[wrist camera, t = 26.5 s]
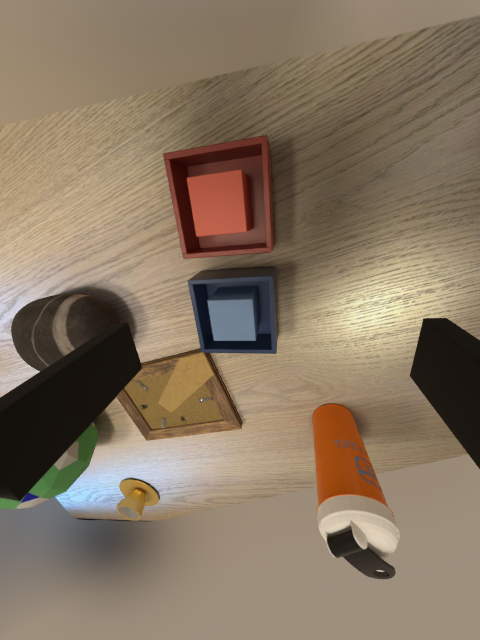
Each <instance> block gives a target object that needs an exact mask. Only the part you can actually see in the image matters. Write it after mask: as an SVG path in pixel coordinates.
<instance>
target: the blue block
mask: <svg viewBox="0 0 480 640" xmlns="http://www.w3.org/2000/svg"><path fill="white" fill-rule="evenodd" d="M207 302H208V308H209V315H210V321H211V327H212V333H213V339H214V341H256V338H257V334H258V330H259V325H260V310H259V296H258V286H240V287H219V288H218V289H217V290H216V292H215V293H214V294H213V295H212V296H211V297H210V298H209V299H208V301H207Z"/></svg>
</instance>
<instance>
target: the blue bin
mask: <svg viewBox="0 0 480 640" xmlns="http://www.w3.org/2000/svg"><path fill="white" fill-rule="evenodd" d="M188 284H189V290H190V295H191V300H192V305H193V311H194V316H195V321H196V326H197V331H198V336H199V342H200V347H201V351H202V353H271V354H276V351H277V337H278V331H277V305H276V279H275V266H272V267H256V268H240V269H224V270H208V271H201V272H199V273H198V274H196V275H195V276H194V277H192V278H191V279H189V280H188ZM240 286H258V296H259V310H260V325H259V330H258V334H257V338H256V341H214V339H213V333H212V327H211V321H210V315H209V308H208V302H207V301H208V299H209V298H210V297H211V296H212V295H213V294H214V293H215V292H216V290H217V289H218V288H219V287H240Z"/></svg>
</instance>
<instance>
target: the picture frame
mask: <svg viewBox="0 0 480 640" xmlns="http://www.w3.org/2000/svg"><path fill="white" fill-rule="evenodd" d="M141 365H142V369H141V370H140V371H139V372H138V374H137V375H136V376H135V377H134V378H133V379H132V380H131V381H130V382H129V383H128V384H127V386H126V387H125V388H124V389H123V390H122V391H121V392H120V393H119V394H118V395H117V396H116V397H117V399H118V400H119V402H120V403H121V404H122V406H123V407H124V409H125V410H126V412H127V413H128V414H129V416H130V417H131V419H132V420H133V422H134V423H135V425H136V426H137V427H138V429H139V430H140V432H141V433H142V435H143V436H144V437H145V439H146V440H155V439H163V438H171V437H179V436H188V435H196V434H204V433H212V432H220V431H229V430H237V429H241V428H242V426H241V425H242V421H241V419H240V417H239V415H238V413H237V411H236V409H235V407H234V405H233V403H232V401H231V398H230V396H229V394H228V392H227V390H226V388H225V386H224V384H223V382H222V380H221V378H220V376H219V374H218V372H217V369H216V367H215V365H214V363H213V361H212V359H211V357H210V355H209V353H202V351H201V349H199V350H195V351H190V352H186V353H182V354H178V355H174V356H170V357H166V358H162V359H158V360H154V361H150V362H146V363H142V364H141Z"/></svg>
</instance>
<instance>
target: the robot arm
mask: <svg viewBox="0 0 480 640" xmlns="http://www.w3.org/2000/svg"><path fill="white" fill-rule="evenodd" d="M141 369H142V365H141V362H140V359H139V356H138V353H137V350H136V347H135V344H134V341H133V338H132V335H131V332H130V329H129V325H128V323H114V324H113V325H111V326H110V327H108V328H107V329H105V330H104V331H102V332H101V333H99V334H97V335H96V336H94V337H93V338H91V339H90V340H88V341H87V342H85V343H84V344H82V345H81V346H79V347H78V348H76V349H74V350H73V351H71V352H70V353H68V354H67V355H65V356H64V357H62V358H61V359H59V360H58V361H56V362H54V363H53V364H51V365H50V366H48V367H47V368H45V369H44V370H42V371H41V372H39V373H38V374H36V375H35V376H33V377H31V378H30V379H28V380H27V381H25V382H24V383H22V384H21V385H19V386H18V387H16V388H15V389H13V390H11V391H10V392H8V393H7V394H5V395H4V396H2V397H1V398H0V498H4V499H10V500H15V501H21V500H22V499H23V498H24V496H25V495H26V494H27V493H28V492H29V491H30V490H31V489H32V488H33V487H34V486H35V484H36V483H37V482H38V481H39V480H40V479H41V478H42V477H43V476H44V475H45V474H46V473H47V471H48V470H49V469H50V468H51V467H52V466H53V465H54V464H55V463H56V462H57V461H58V459H59V458H60V457H61V456H62V455H63V454H64V453H65V452H66V451H67V450H68V449H69V448H70V446H71V445H72V444H73V443H74V442H75V441H76V440H77V439H78V438H79V437H80V436H81V434H82V433H83V432H84V431H85V430H86V429H87V428H88V427H89V426H90V425H91V424H92V422H93V421H94V420H95V419H96V418H97V417H98V416H99V415H100V414H101V413H102V412H103V411H104V409H105V408H106V407H107V406H108V405H109V404H110V403H111V402H112V401H113V400H114V399H115V397H116V396H117V395H118V394H119V393H120V392H121V391H122V390H123V389H124V388H125V387H126V386H127V384H128V383H129V382H130V381H131V380H132V379H133V378H134V377H135V376H136V375H137V374H138V372H139V371H140V370H141ZM410 377H411V378H412V379H413V381H414V382H415V383H416V385H417V386H418V387H419V389H420V390H421V391H422V393H423V394H424V395H425V397H426V398H427V399H428V401H429V402H430V403H431V405H432V406H433V407H434V409H435V410H436V411H437V413H438V414H439V415H440V417H441V418H442V419H443V421H444V422H445V423H446V425H447V426H448V427H449V429H450V430H451V431H452V433H453V434H454V435H455V437H456V438H457V439H458V441H459V442H460V443H461V445H462V446H463V447H464V449H465V450H466V451H467V453H468V454H469V455H470V457H471V458H472V459H473V461H474V462H475V463H476V465H477V466H478V467H479V469H480V340H478V339H477V338H475V337H474V336H472V335H471V334H469V333H468V332H466V331H465V330H463V329H462V328H460V327H459V326H457V325H456V324H454V323H453V322H451V321H450V320H448V319H447V318H425V319H423V323H422V327H421V331H420V336H419V340H418V344H417V348H416V352H415V357H414V361H413V365H412V369H411V373H410Z"/></svg>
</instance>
